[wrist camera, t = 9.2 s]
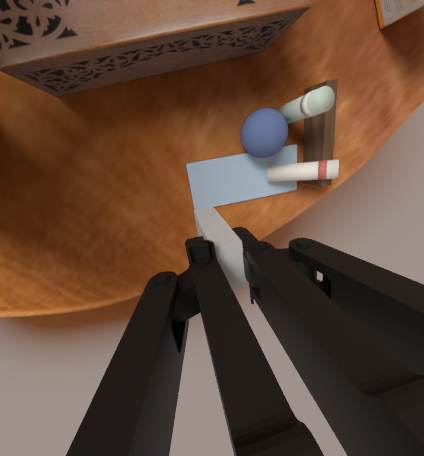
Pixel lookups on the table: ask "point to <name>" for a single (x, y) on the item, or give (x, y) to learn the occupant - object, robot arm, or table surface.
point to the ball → (264, 133)
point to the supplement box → (395, 10)
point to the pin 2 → (303, 171)
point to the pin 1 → (308, 105)
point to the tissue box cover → (131, 37)
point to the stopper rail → (320, 134)
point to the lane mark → (237, 178)
